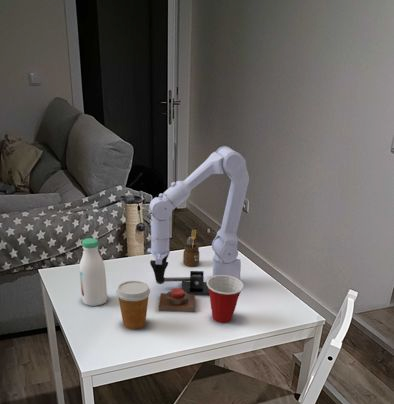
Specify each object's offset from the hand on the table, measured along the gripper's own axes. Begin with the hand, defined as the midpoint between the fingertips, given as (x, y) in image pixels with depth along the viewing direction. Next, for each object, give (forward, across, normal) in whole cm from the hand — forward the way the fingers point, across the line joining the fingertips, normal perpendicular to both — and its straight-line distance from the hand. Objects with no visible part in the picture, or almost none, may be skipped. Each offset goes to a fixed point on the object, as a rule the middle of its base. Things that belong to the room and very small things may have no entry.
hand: (160, 276), depth 162 cm
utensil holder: (+5, -22, +10) cm, 25 cm away
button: (+1, +11, +6) cm, 13 cm away
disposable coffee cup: (+5, +24, -6) cm, 25 cm away
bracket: (+4, 0, +12) cm, 13 cm away
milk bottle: (+5, +10, -20) cm, 23 cm away
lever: (+2, 0, +6) cm, 6 cm away
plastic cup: (+5, +19, +20) cm, 28 cm away
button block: (+5, +11, +6) cm, 13 cm away
